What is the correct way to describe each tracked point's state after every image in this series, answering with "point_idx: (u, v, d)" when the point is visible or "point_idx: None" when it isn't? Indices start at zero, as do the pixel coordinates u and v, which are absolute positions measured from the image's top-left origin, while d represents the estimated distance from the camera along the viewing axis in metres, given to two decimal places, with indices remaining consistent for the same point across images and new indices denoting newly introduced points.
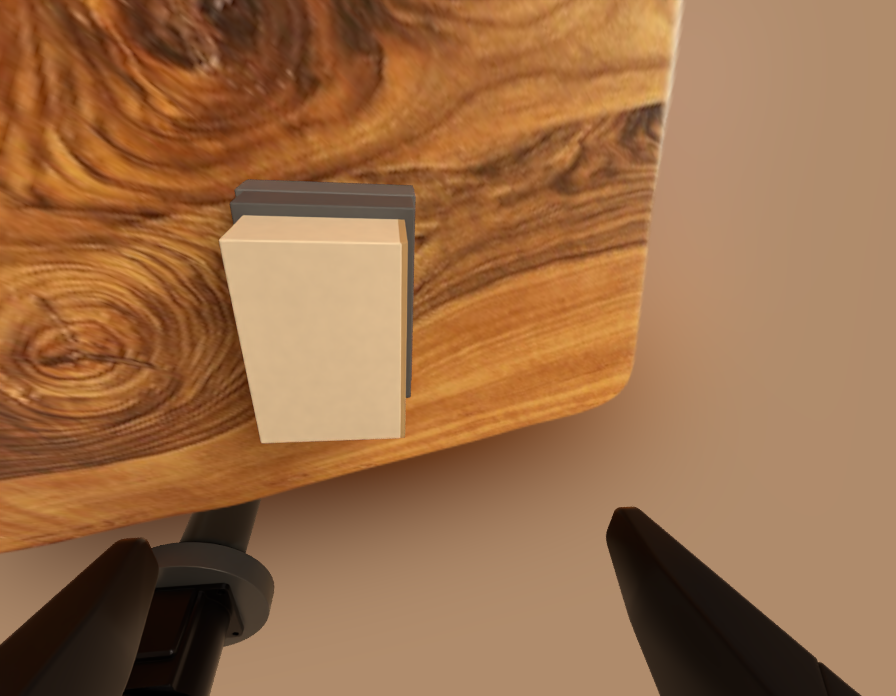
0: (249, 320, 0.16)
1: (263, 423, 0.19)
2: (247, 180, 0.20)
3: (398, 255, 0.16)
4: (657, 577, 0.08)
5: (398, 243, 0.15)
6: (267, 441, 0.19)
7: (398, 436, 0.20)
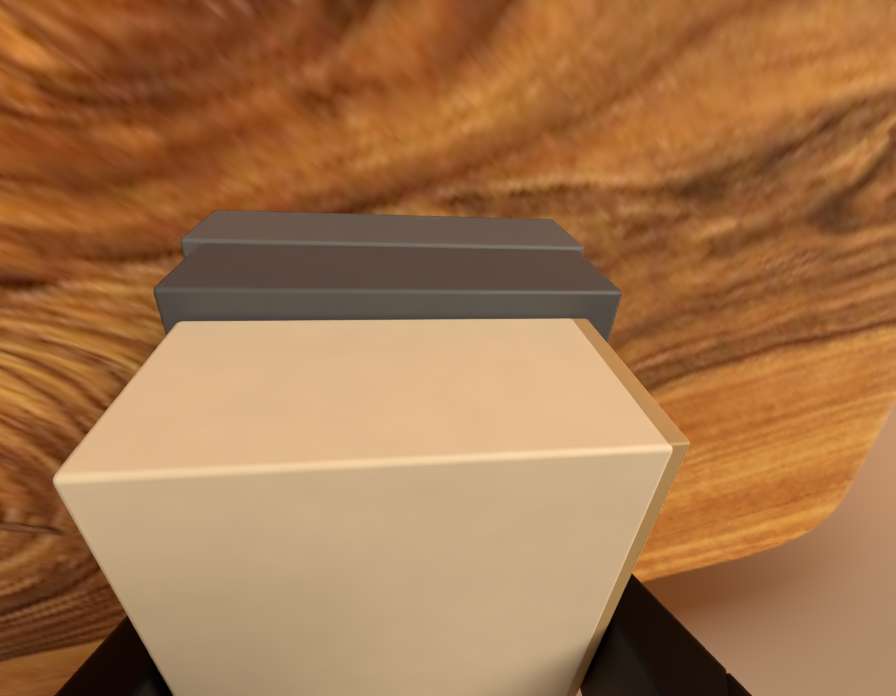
0: (189, 648, 0.06)
1: None
2: (216, 212, 0.09)
3: (652, 475, 0.05)
4: None
5: (664, 447, 0.05)
6: None
7: None
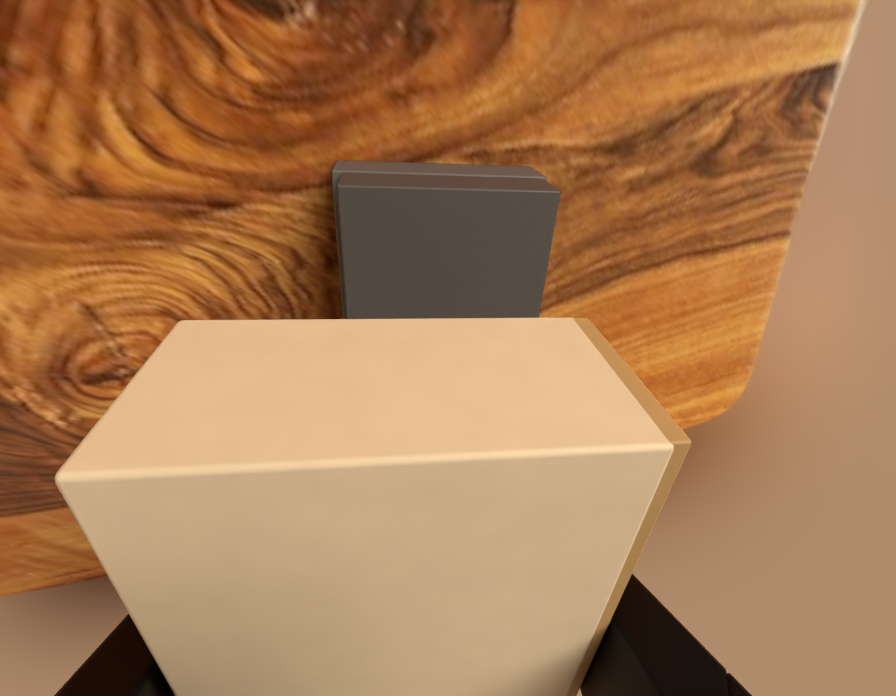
0: (191, 647, 0.06)
1: None
2: (338, 161, 0.16)
3: (653, 474, 0.05)
4: None
5: (666, 446, 0.05)
6: None
7: None
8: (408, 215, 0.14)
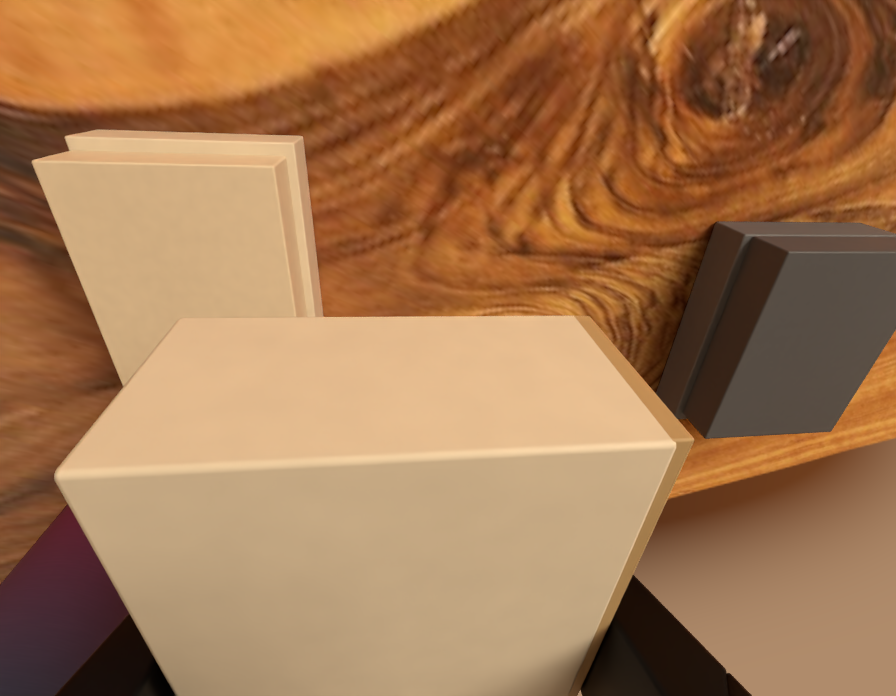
0: (191, 646, 0.06)
1: None
2: (721, 222, 0.20)
3: (656, 472, 0.05)
4: None
5: (668, 443, 0.05)
6: None
7: None
8: (828, 272, 0.18)
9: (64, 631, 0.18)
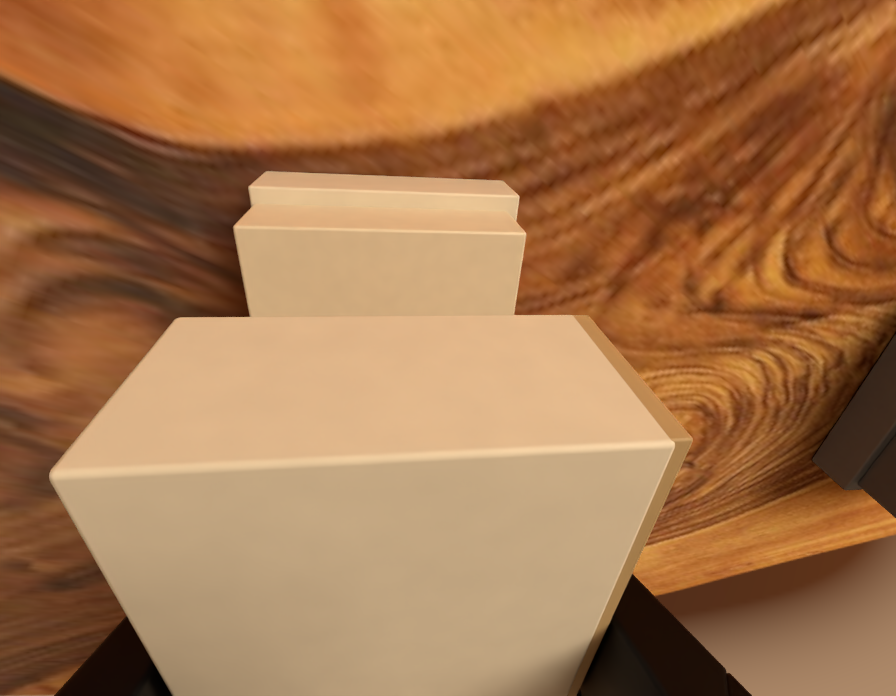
0: (188, 646, 0.05)
1: None
2: None
3: (654, 472, 0.05)
4: None
5: (667, 443, 0.05)
6: None
7: None
8: None
9: None
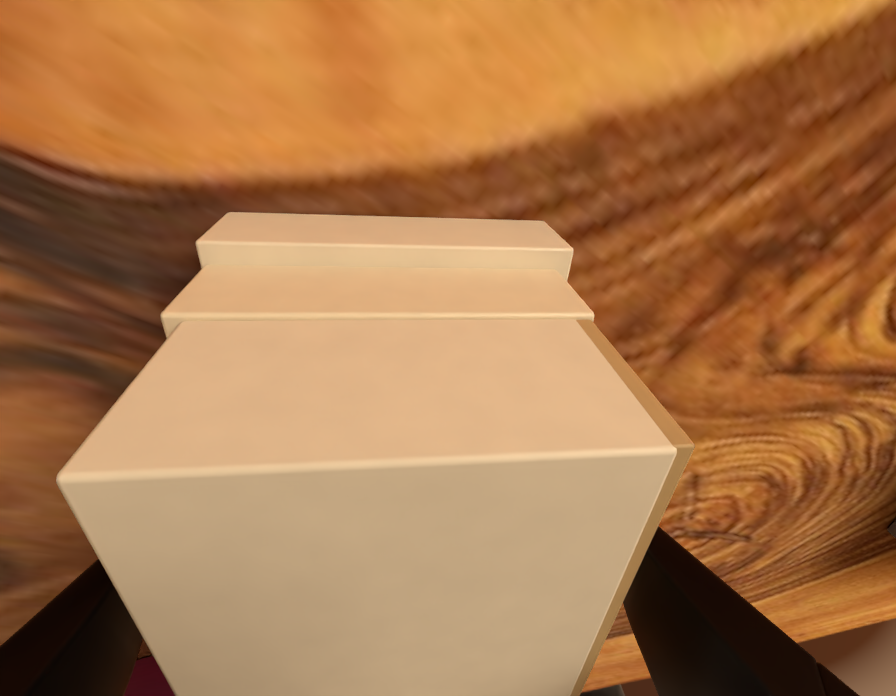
0: (191, 647, 0.06)
1: None
2: None
3: (656, 477, 0.05)
4: (656, 577, 0.08)
5: (669, 449, 0.05)
6: None
7: None
8: None
9: None
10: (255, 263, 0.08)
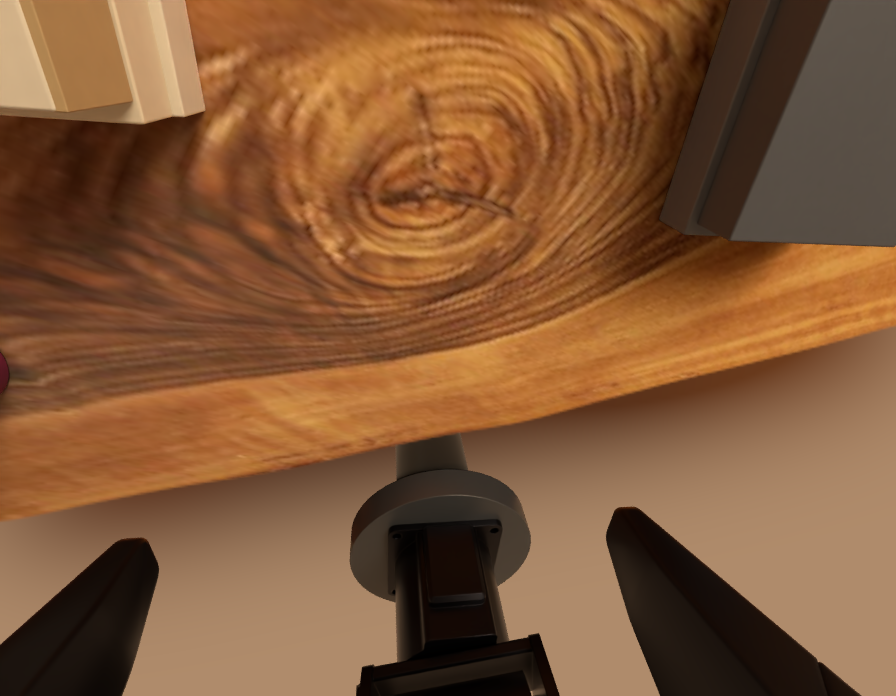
0: None
1: None
2: None
3: None
4: (657, 577, 0.08)
5: None
6: None
7: (51, 107, 0.09)
8: None
9: None
10: None
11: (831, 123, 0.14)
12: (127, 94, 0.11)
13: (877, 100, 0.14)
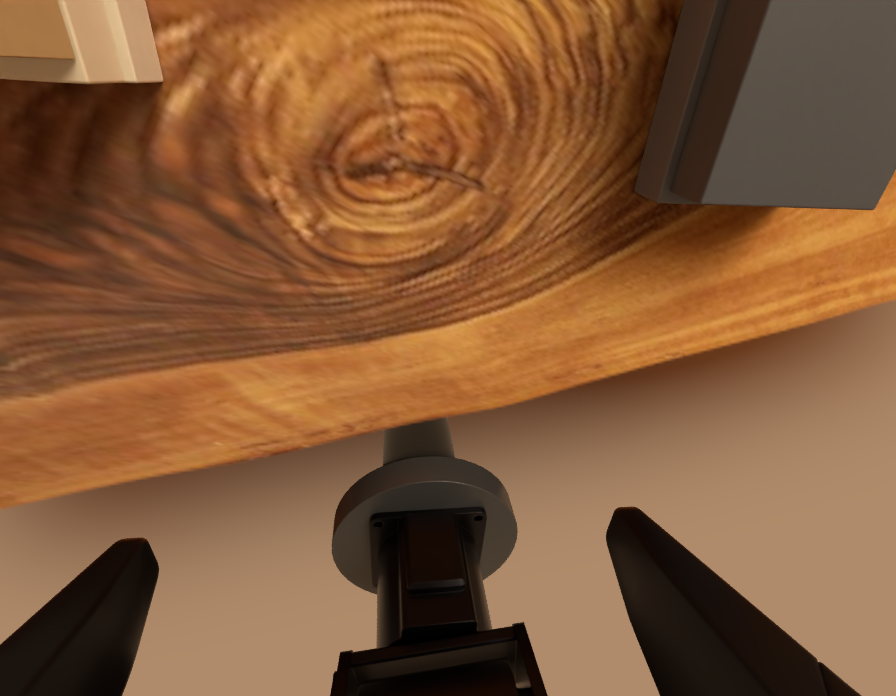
0: None
1: None
2: None
3: None
4: (657, 577, 0.08)
5: None
6: None
7: None
8: None
9: None
10: None
11: (798, 77, 0.14)
12: (67, 50, 0.11)
13: (845, 51, 0.14)
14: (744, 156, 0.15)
